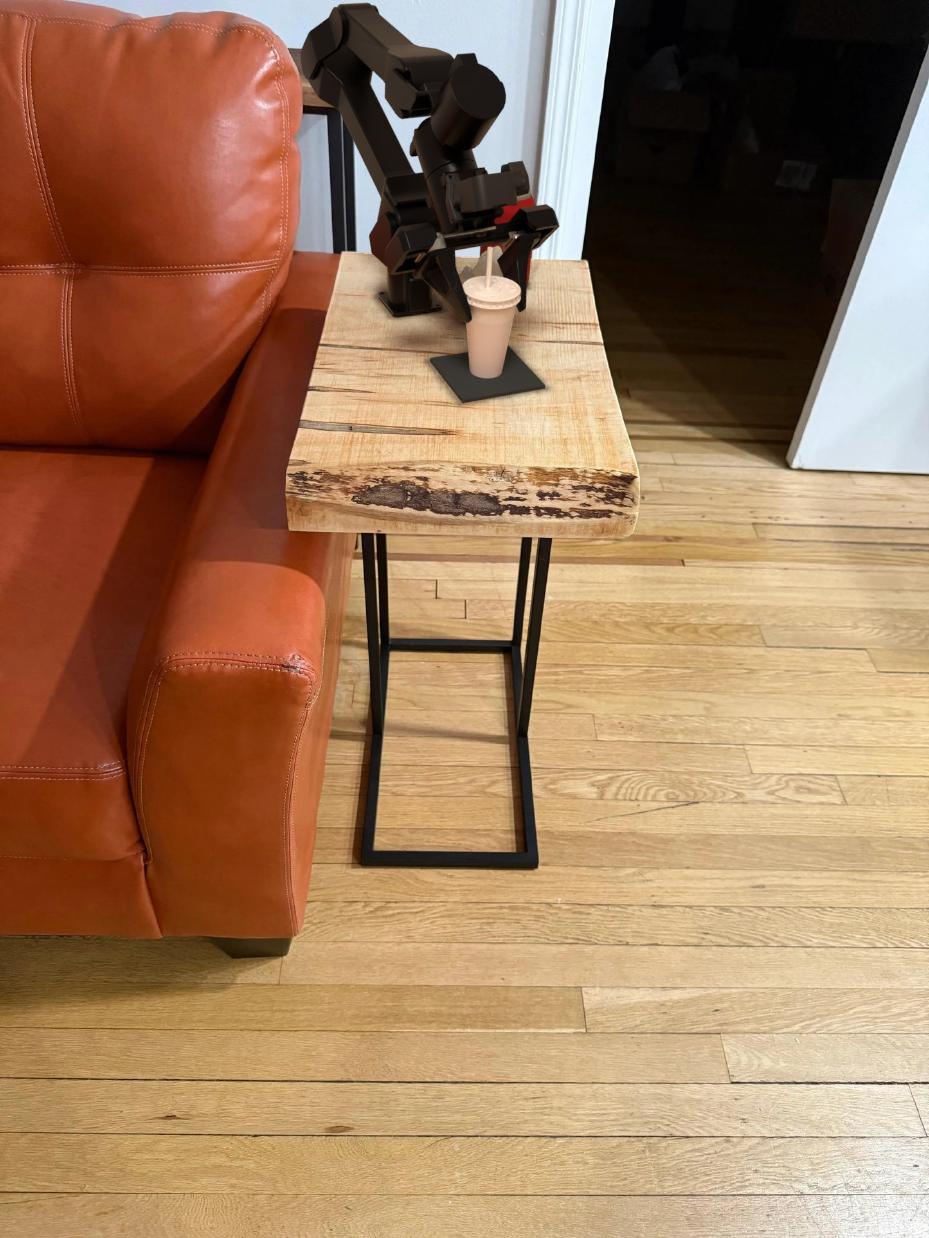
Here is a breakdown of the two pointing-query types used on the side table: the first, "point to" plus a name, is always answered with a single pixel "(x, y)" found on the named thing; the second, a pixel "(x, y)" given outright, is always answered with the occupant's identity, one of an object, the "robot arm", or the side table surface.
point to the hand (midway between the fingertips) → (496, 316)
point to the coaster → (475, 388)
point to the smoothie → (490, 320)
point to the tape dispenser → (483, 266)
